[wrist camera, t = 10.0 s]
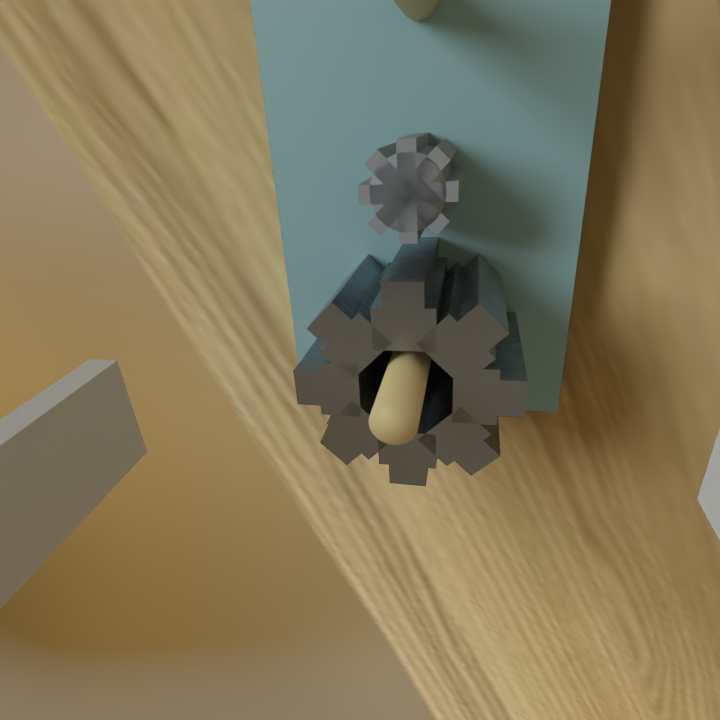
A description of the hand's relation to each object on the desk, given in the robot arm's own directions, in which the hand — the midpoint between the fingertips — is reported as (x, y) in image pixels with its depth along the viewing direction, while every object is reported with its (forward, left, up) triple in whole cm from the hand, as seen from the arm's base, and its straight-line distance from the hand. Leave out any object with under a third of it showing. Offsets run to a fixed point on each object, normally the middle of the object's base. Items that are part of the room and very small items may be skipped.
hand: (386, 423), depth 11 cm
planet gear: (+1, 0, -8) cm, 8 cm away
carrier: (-4, 0, -9) cm, 10 cm away
